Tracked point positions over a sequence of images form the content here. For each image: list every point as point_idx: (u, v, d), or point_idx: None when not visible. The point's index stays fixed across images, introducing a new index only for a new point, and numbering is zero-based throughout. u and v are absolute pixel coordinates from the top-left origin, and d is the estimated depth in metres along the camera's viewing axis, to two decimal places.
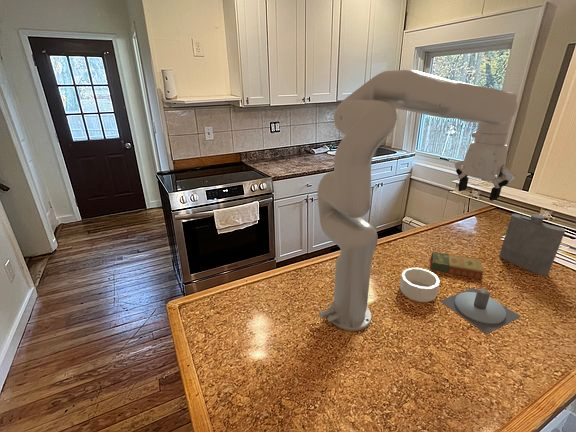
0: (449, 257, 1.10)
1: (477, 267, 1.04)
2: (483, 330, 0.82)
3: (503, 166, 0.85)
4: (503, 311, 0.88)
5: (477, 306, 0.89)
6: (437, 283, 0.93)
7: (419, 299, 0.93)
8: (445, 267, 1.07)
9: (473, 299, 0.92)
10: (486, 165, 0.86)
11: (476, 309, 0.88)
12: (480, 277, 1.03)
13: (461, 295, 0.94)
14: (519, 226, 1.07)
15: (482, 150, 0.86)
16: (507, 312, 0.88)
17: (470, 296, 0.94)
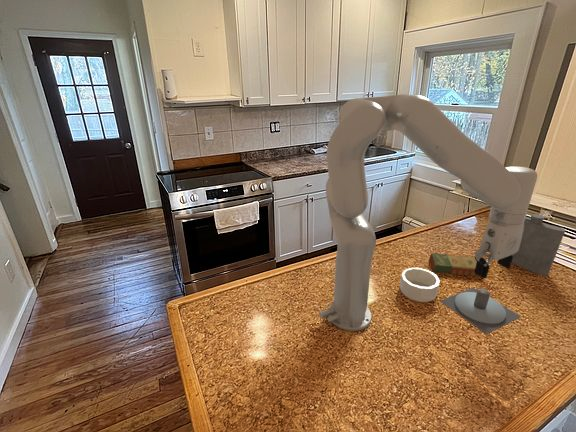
0: (449, 257, 1.10)
1: None
2: (483, 330, 0.82)
3: None
4: (503, 311, 0.88)
5: (477, 306, 0.89)
6: (437, 283, 0.93)
7: (419, 299, 0.93)
8: (448, 268, 1.06)
9: (473, 299, 0.92)
10: (516, 241, 0.79)
11: (476, 309, 0.88)
12: None
13: (461, 295, 0.94)
14: None
15: (515, 230, 0.77)
16: (507, 312, 0.88)
17: (470, 296, 0.94)
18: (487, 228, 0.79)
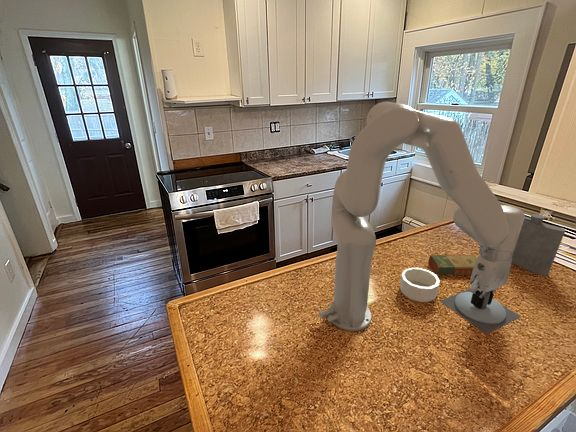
0: (448, 258, 1.10)
1: None
2: (483, 330, 0.82)
3: None
4: (503, 310, 0.88)
5: None
6: (437, 283, 0.93)
7: (419, 299, 0.93)
8: (451, 269, 1.05)
9: None
10: (504, 274, 0.83)
11: (476, 309, 0.88)
12: None
13: (461, 295, 0.94)
14: None
15: (503, 264, 0.81)
16: (507, 312, 0.88)
17: (470, 296, 0.94)
18: (477, 262, 0.83)
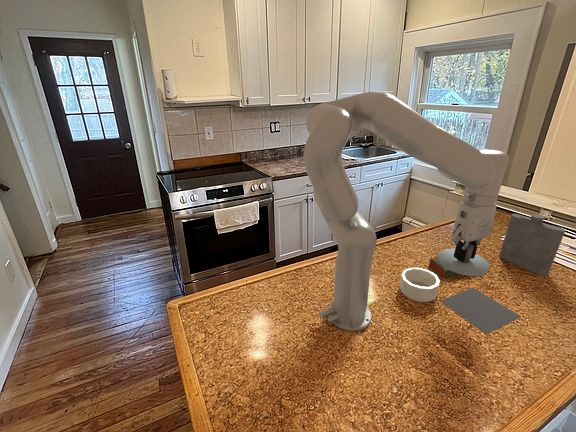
0: None
1: None
2: (483, 330, 0.82)
3: None
4: (487, 264, 0.85)
5: None
6: (437, 283, 0.93)
7: (419, 299, 0.93)
8: None
9: None
10: (488, 224, 0.80)
11: (459, 262, 0.86)
12: None
13: (445, 251, 0.92)
14: (519, 226, 1.07)
15: (486, 212, 0.78)
16: (507, 312, 0.88)
17: None
18: (460, 210, 0.80)
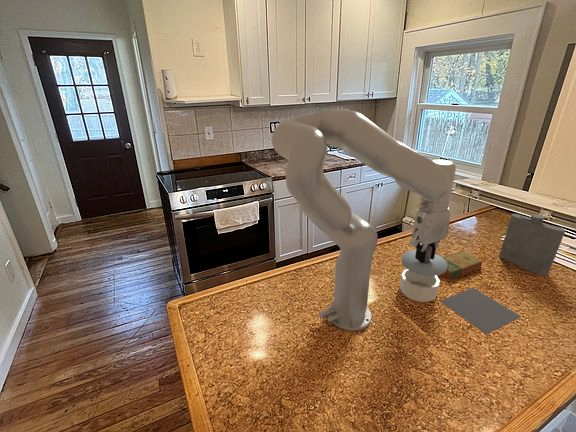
0: (449, 260, 1.09)
1: (475, 259, 1.08)
2: (483, 330, 0.82)
3: None
4: (445, 264, 0.91)
5: None
6: (437, 283, 0.93)
7: (419, 299, 0.93)
8: (459, 271, 1.04)
9: None
10: (443, 228, 0.87)
11: (420, 263, 0.92)
12: (480, 267, 1.09)
13: (408, 252, 0.98)
14: (519, 226, 1.07)
15: (440, 217, 0.85)
16: (507, 312, 0.88)
17: None
18: (416, 216, 0.87)
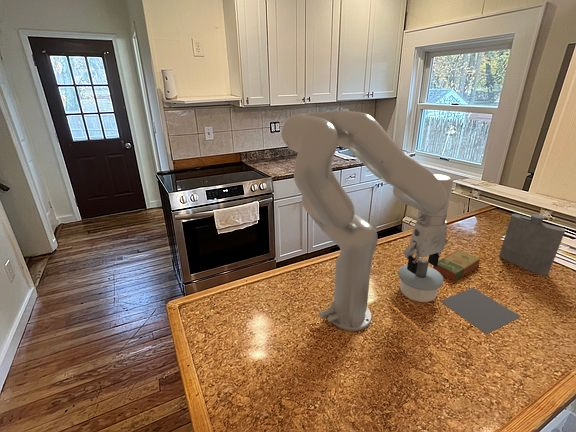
0: (449, 260, 1.08)
1: (473, 257, 1.09)
2: (483, 330, 0.82)
3: None
4: (441, 279, 0.93)
5: (417, 275, 0.95)
6: None
7: (419, 299, 0.93)
8: (462, 271, 1.04)
9: None
10: (440, 240, 0.89)
11: (417, 277, 0.94)
12: (478, 265, 1.10)
13: (406, 266, 1.00)
14: (519, 226, 1.07)
15: (437, 230, 0.86)
16: (507, 312, 0.88)
17: None
18: (414, 228, 0.88)
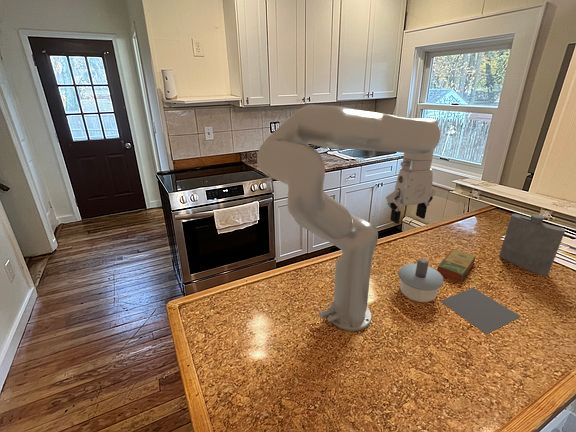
0: (451, 261, 1.08)
1: (469, 255, 1.11)
2: (483, 330, 0.82)
3: None
4: (441, 279, 0.93)
5: (417, 275, 0.95)
6: None
7: (419, 299, 0.93)
8: (465, 271, 1.04)
9: (416, 269, 0.98)
10: (425, 189, 0.86)
11: (417, 277, 0.94)
12: (473, 262, 1.12)
13: (406, 266, 1.00)
14: (519, 226, 1.07)
15: (421, 177, 0.84)
16: (507, 312, 0.88)
17: (413, 267, 0.99)
18: (398, 175, 0.86)
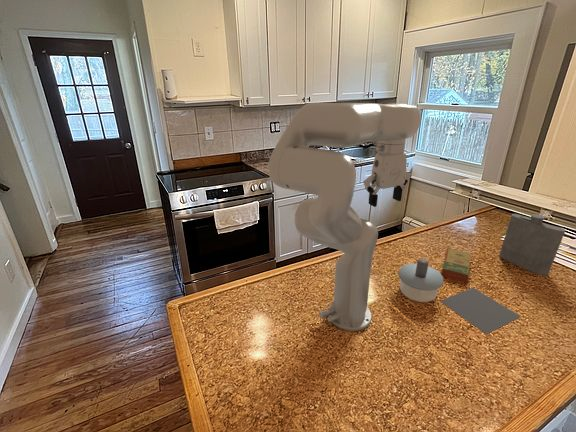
0: (452, 262, 1.07)
1: (465, 254, 1.12)
2: (483, 330, 0.82)
3: None
4: (441, 279, 0.93)
5: (417, 275, 0.95)
6: None
7: (419, 299, 0.93)
8: None
9: (416, 269, 0.98)
10: (400, 172, 0.90)
11: (417, 277, 0.94)
12: None
13: (406, 266, 1.00)
14: (519, 226, 1.07)
15: (396, 160, 0.87)
16: (507, 312, 0.88)
17: (413, 267, 0.99)
18: (374, 160, 0.89)
